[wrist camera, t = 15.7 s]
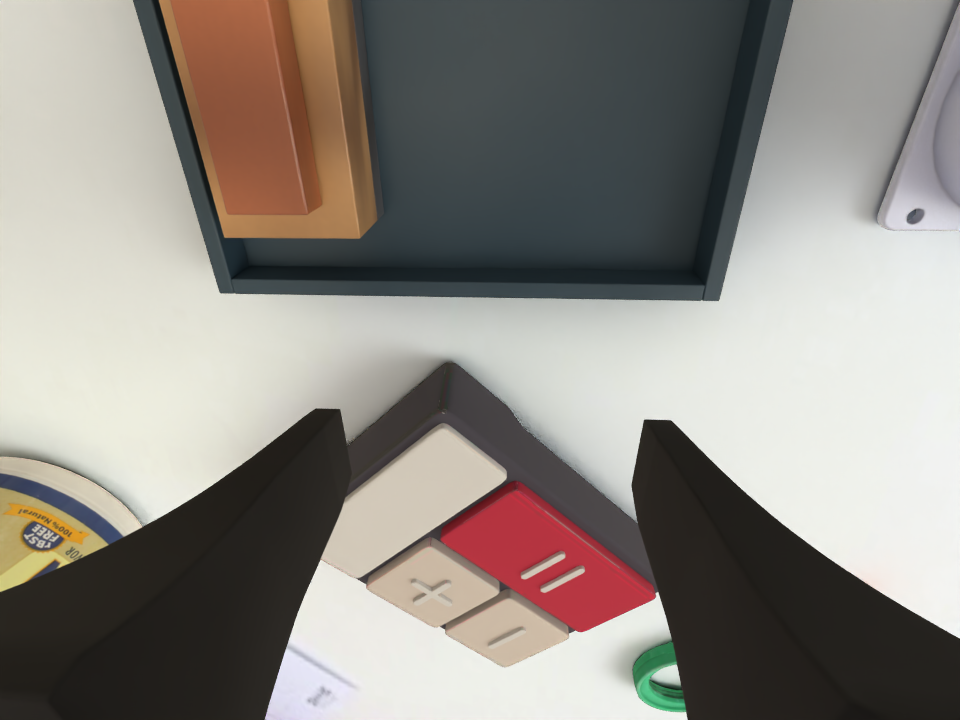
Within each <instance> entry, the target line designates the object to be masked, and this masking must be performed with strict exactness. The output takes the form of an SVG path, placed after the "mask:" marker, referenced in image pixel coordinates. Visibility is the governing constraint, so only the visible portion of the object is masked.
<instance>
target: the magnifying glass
mask: <svg viewBox="0 0 960 720" xmlns="http://www.w3.org/2000/svg"><path fill="white" fill-rule="evenodd" d="M675 664H677V661H676V656H675V651H674V647H673V642H672V643H668V644H664V645H661V646H658V647H655V648H653V649H651V650H649V651H647V652H646V653H644V654H643V655H642V656H641V657H640V658H639V659H638V660H637V661H636V663H635V665H634V667H633V678H634V683H635V687H636V691H637V694H638V696H639V698H640V699H641V700H642V701H643V702H644V703H646V704H648V705H649V706H651V707H654V708H657V709H660V710H664V711H671V712H686V707H685V702H684V697H683V691H682V690H673V689H668V688H664V687H661V686H659V685H657V684H655V683H653V682H652V681H651V680H650V678H651V676H652V675H653V674H654V673H655V672H657V671H658V670H660V669H662V668H664V667H668V666H671V665H675Z"/></svg>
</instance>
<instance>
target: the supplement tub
mask: <svg viewBox="0 0 960 720" xmlns="http://www.w3.org/2000/svg"><path fill="white" fill-rule="evenodd" d="M140 528H142V525H141V524H140V523H139V521H138V520H137V519H136V517H135V516H134V515H133V514H132V513H131V512H130V511H129V510H128V509H127V507H126V506H125V505H123V504H122V503H121V502H120V501H119V500H118V499H117V498H115V497H114V496H113V495H112V494H110V493H109V492H108V491H106V490H105V489H103V488H102V487H100V486H98V485H97V484H95V483H94V482H92V481H90V480H88V479H86V478H84V477H82V476H80V475H78V474H76V473H73V472H71V471H69V470H66V469H63V468H60V467H58V466H55V465H51V464H48V463H44V462H41V461H36V460H31V459H25V458H17V457H0V592H2V591H4V590H7V589H9V588H12V587H14V586H17V585H20V584H22V583H25V582H27V581H29V580H32V579H34V578H37V577H39V576H41V575H44V574H46V573H48V572H51V571H53V570H55V569H57V568H60V567H62V566H64V565H67V564H69V563H71V562H73V561H75V560H78V559H80V558H82V557H84V556H86V555H88V554H90V553H93V552H95V551H97V550H99V549H101V548H103V547H105V546H107V545H109V544H111V543H113V542H115V541H117V540H119V539H121V538H122V537H124V536H126V535H128V534H130V533H132V532H134V531H136V530H138V529H140Z"/></svg>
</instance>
